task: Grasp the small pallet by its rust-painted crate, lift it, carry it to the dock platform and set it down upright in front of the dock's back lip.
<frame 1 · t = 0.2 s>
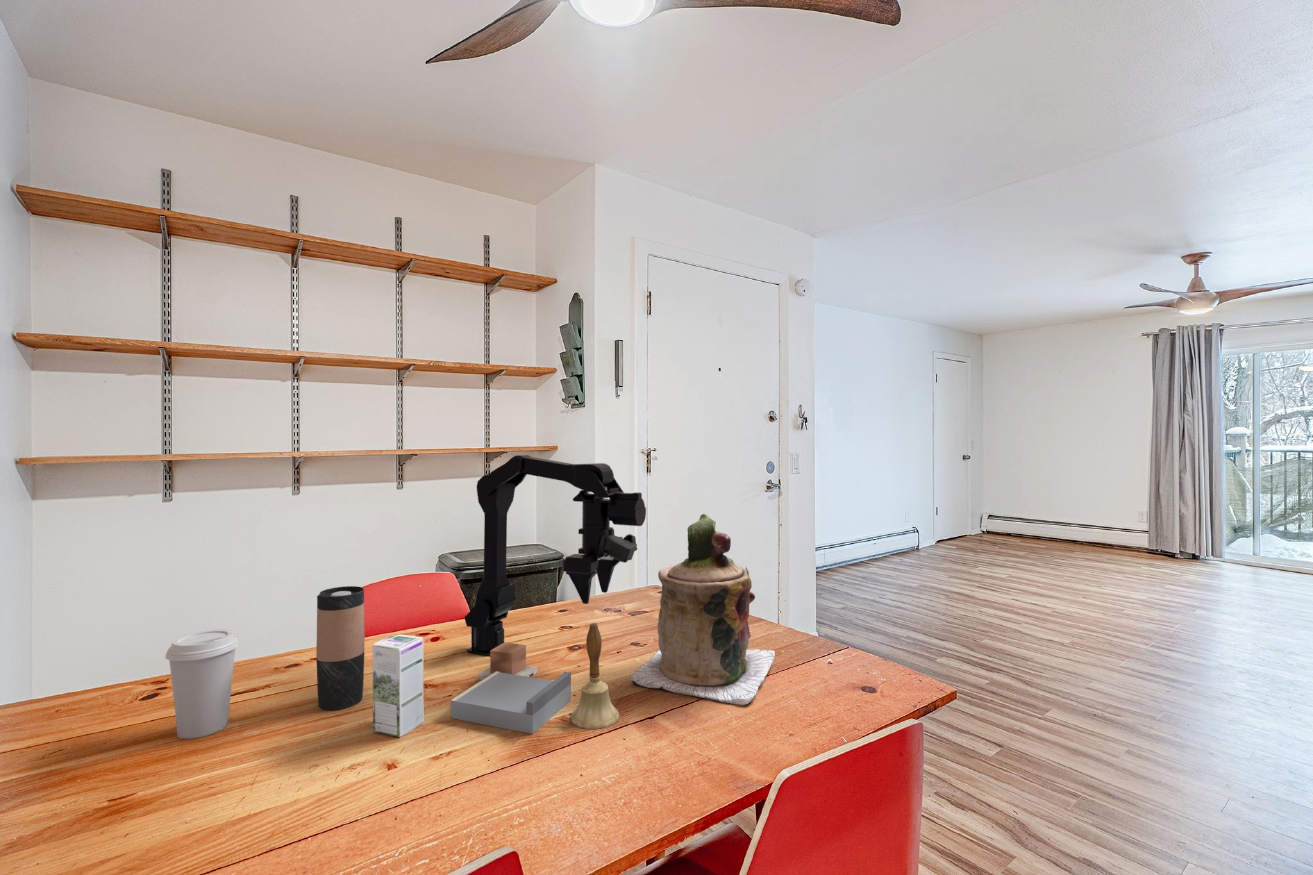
hand: (595, 597, 122), 14 cm above the table, fingers open, 9 cm apart
dock: (512, 708, 102), on the table
travel mug: (340, 702, 105), on the table
cookie jar: (706, 673, 118), on the table
coffee cup: (203, 729, 95), on the table
syrup box: (398, 728, 95), on the table
hand bell: (595, 718, 99), on the table
pallet: (508, 676, 116), on the table
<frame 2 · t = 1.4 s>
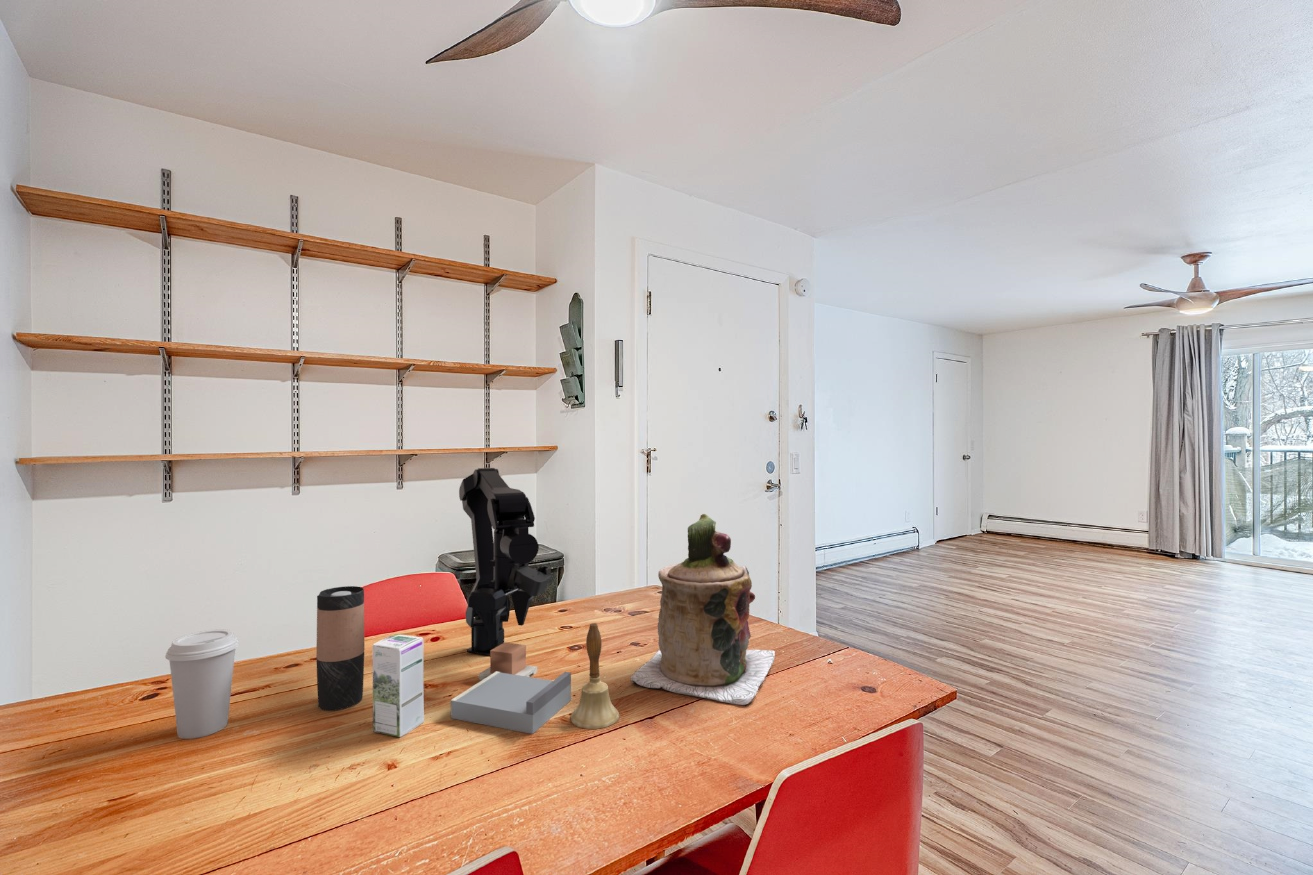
hand: (508, 632, 117), 9 cm above the table, fingers open, 9 cm apart
nothing on the table moved.
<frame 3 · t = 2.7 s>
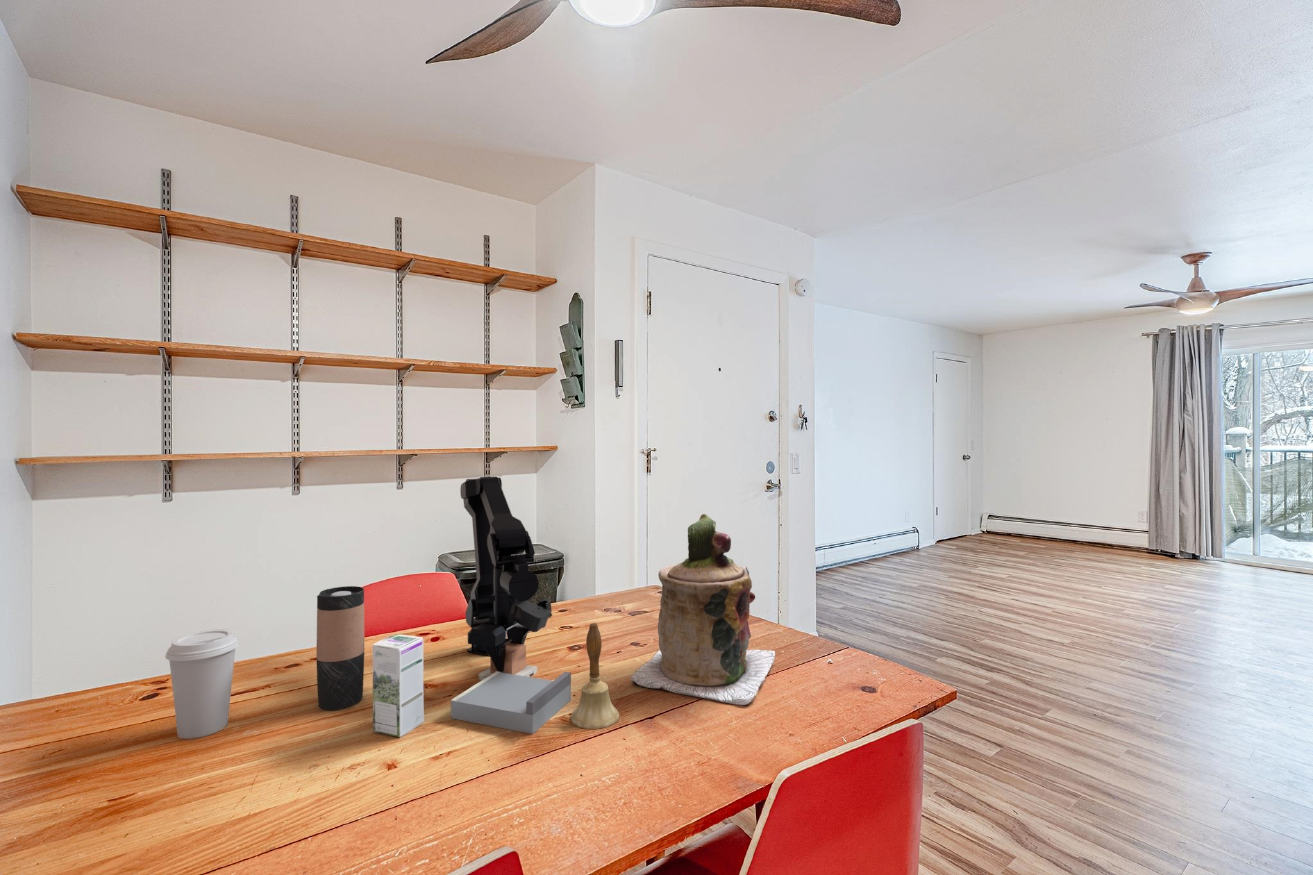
hand: (508, 666, 116), 2 cm above the table, fingers closed on pallet, 5 cm apart
pallet: (508, 676, 116), on the table, touching gripper
everything else where it was.
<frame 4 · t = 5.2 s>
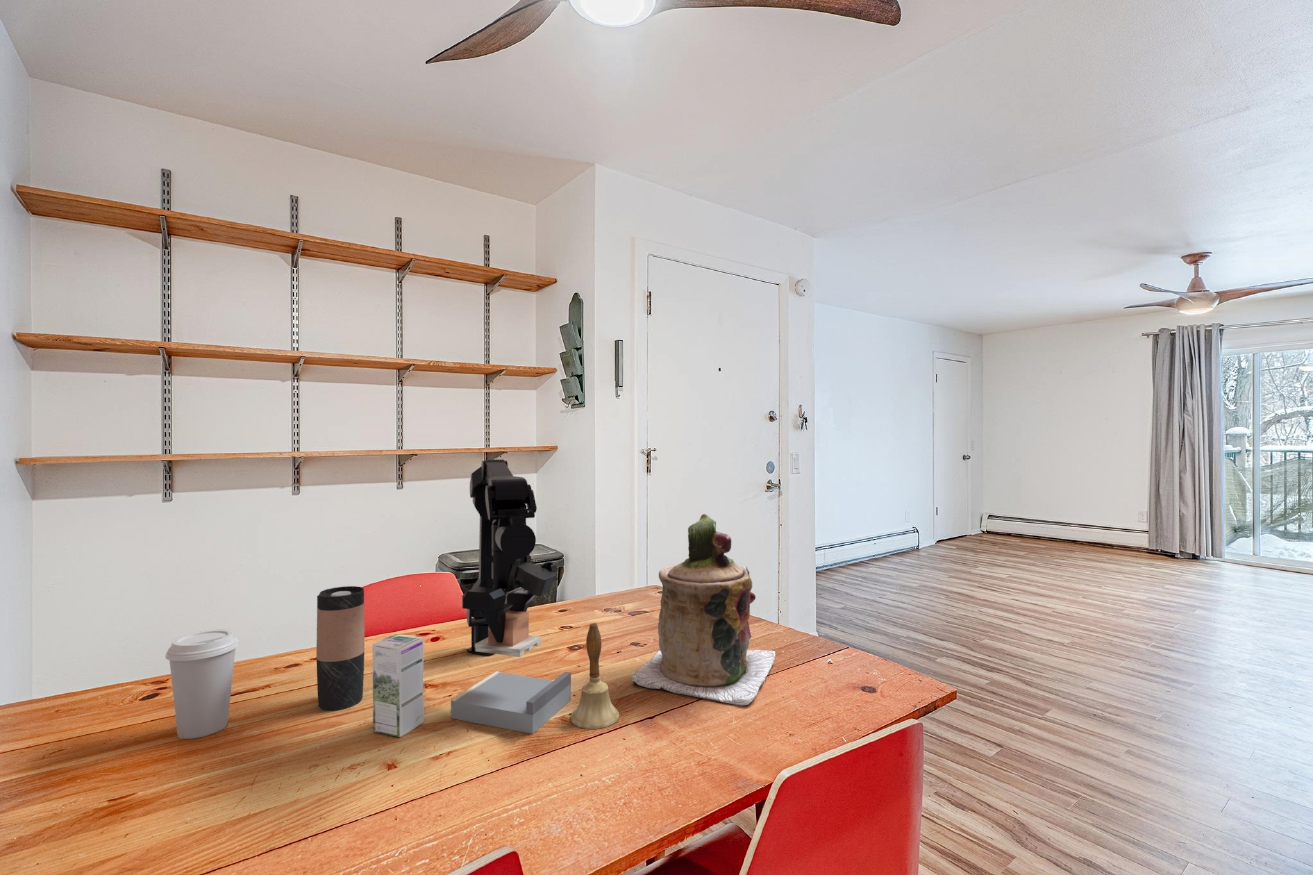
hand: (508, 637, 103), 12 cm above the table, fingers closed on pallet, 5 cm apart
pallet: (508, 647, 103), point 11 cm above the table, touching gripper
everything else where it was.
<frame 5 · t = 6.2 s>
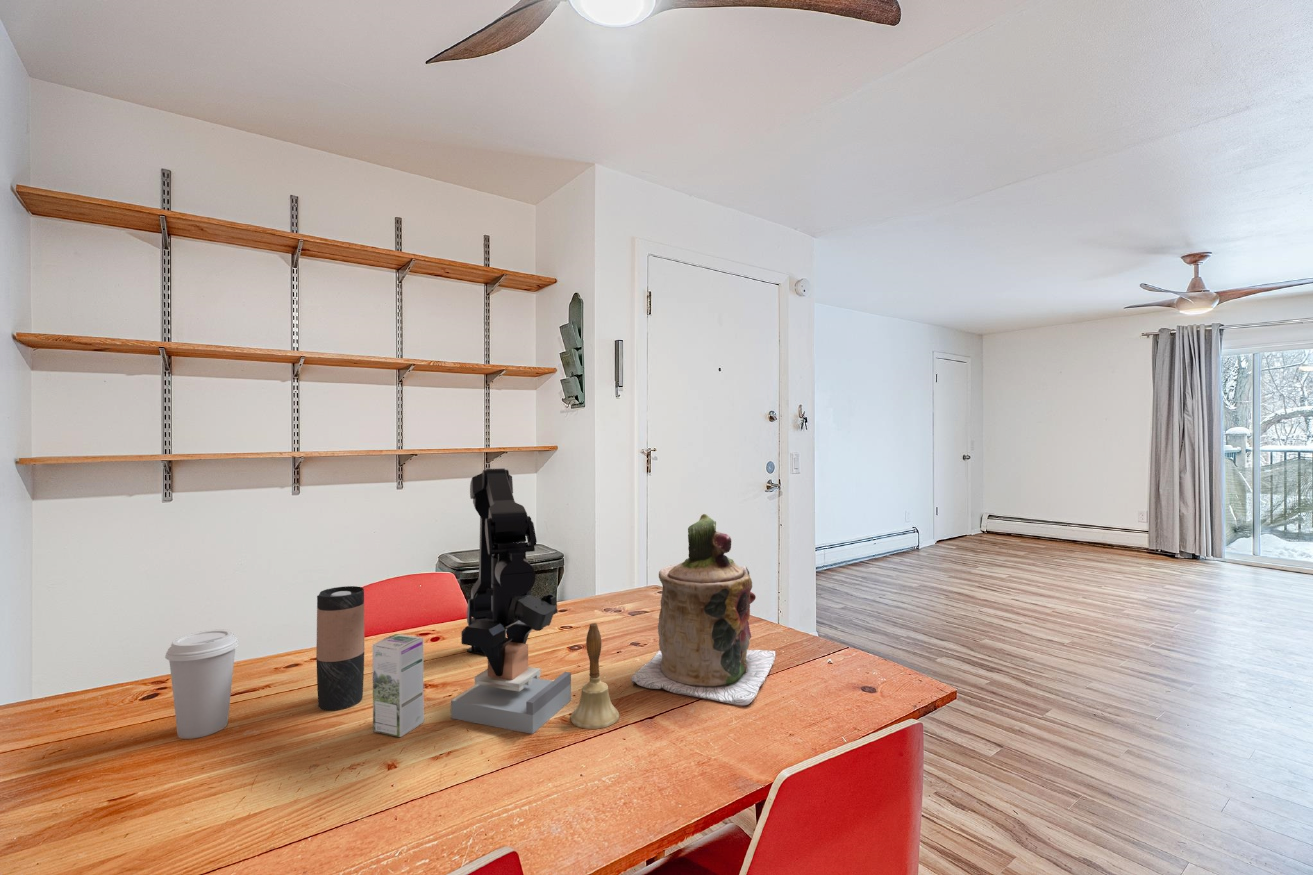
hand: (508, 669, 103), 7 cm above the table, fingers closed on pallet, 5 cm apart
pallet: (508, 679, 103), point 5 cm above the table, touching gripper
everything else where it was.
when the fingers open (6 cm above the table, at t = 7.2 s): pallet stays where it is, resting on dock.
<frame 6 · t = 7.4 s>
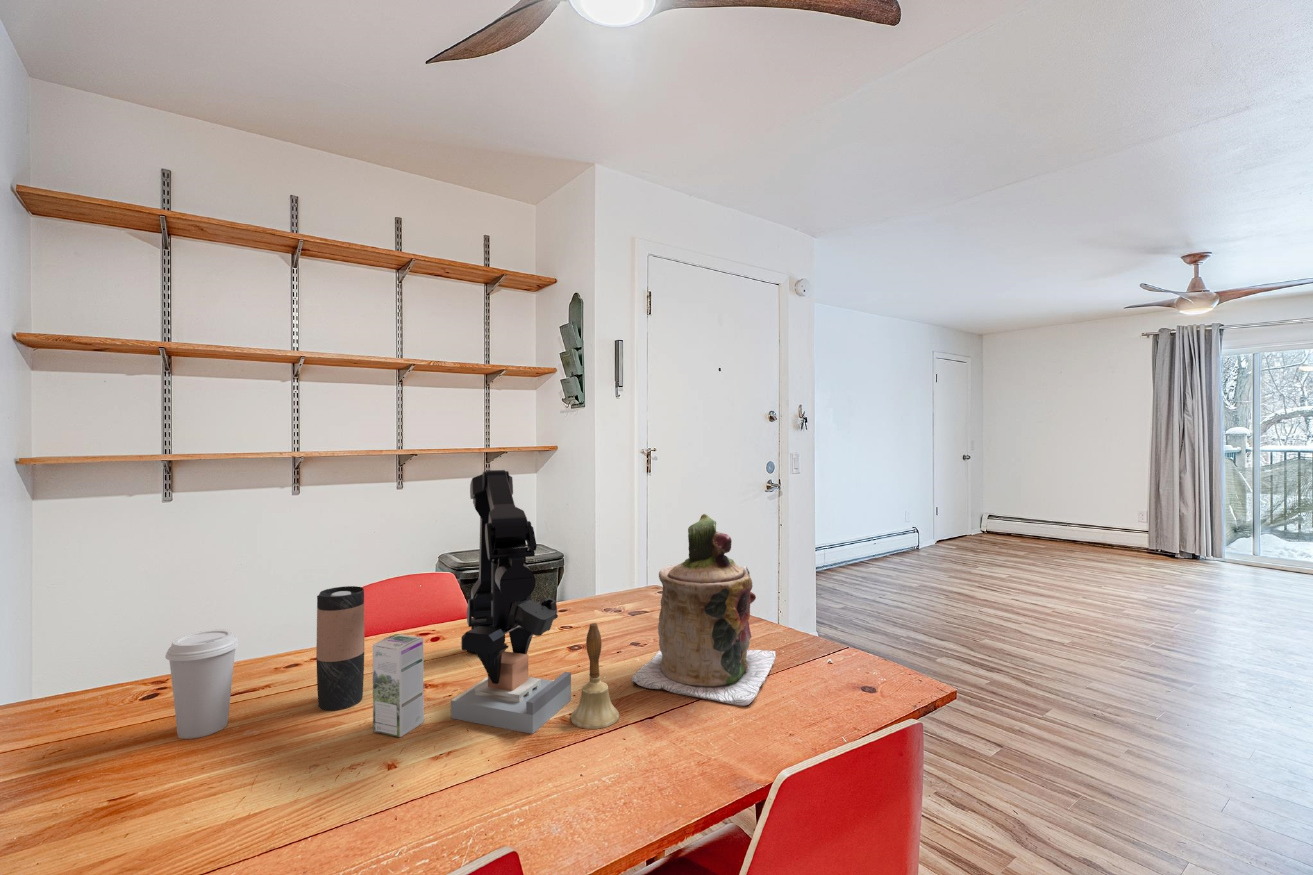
hand: (508, 674, 103), 6 cm above the table, fingers open, 7 cm apart
pallet: (508, 690, 103), point 3 cm above the table, touching dock
everything else where it was.
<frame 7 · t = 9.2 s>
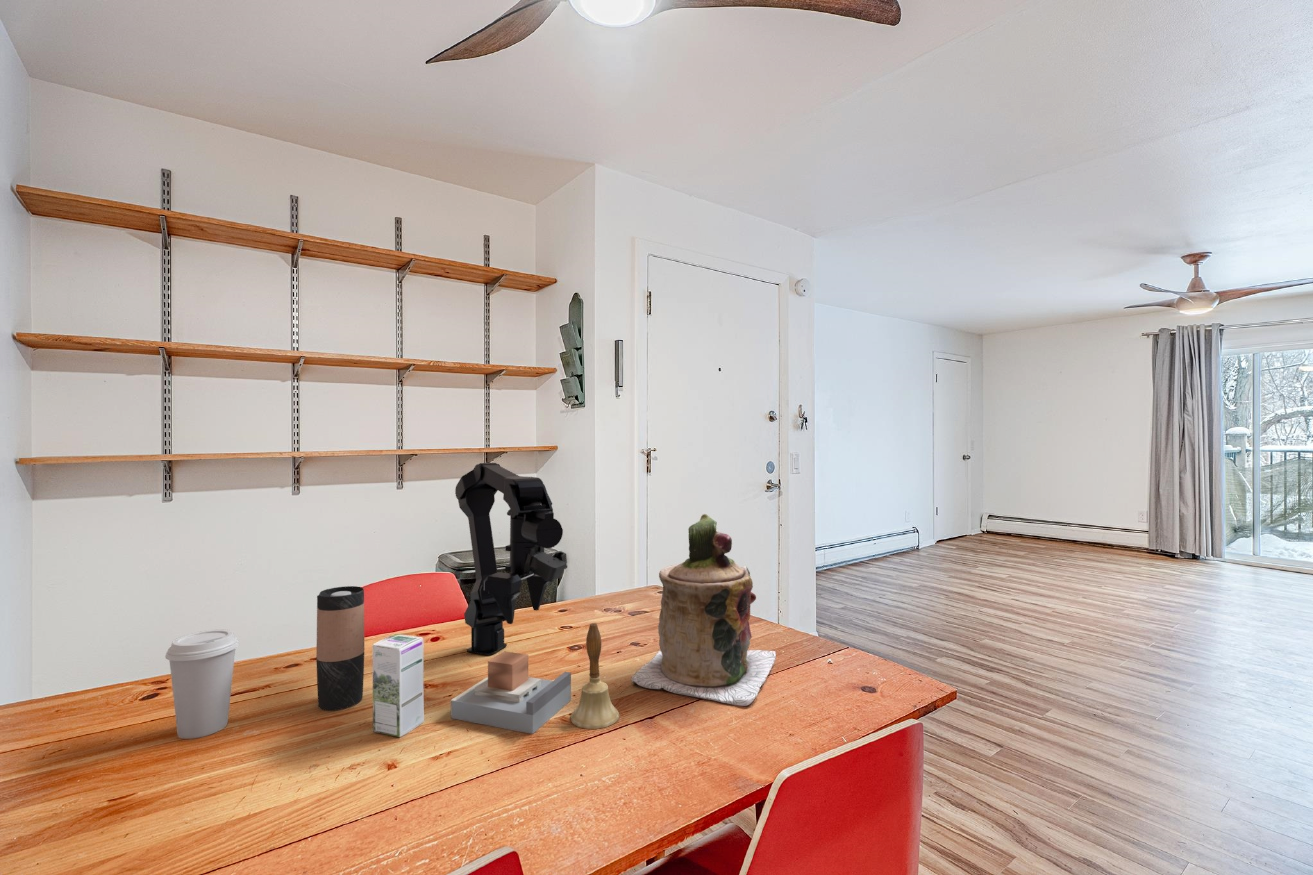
hand: (523, 616, 118), 12 cm above the table, fingers open, 9 cm apart
nothing on the table moved.
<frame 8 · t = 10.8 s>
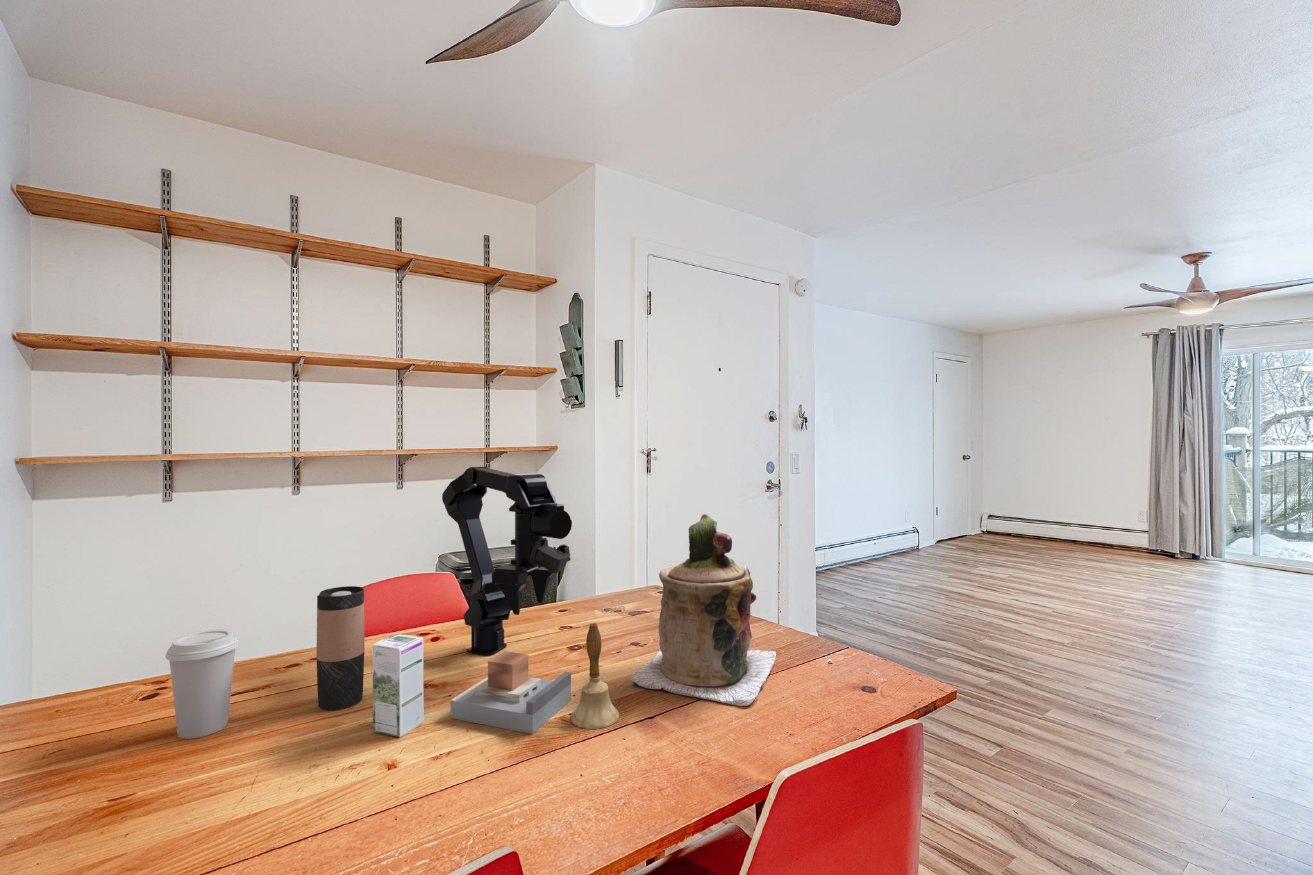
hand: (528, 608, 122), 12 cm above the table, fingers open, 9 cm apart
nothing on the table moved.
at the end: pallet inside the target area on the dock (0.8 cm from its centre), point 3.0 cm above the dock's base; pallet tilted 0°; the gripper is holding nothing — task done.
